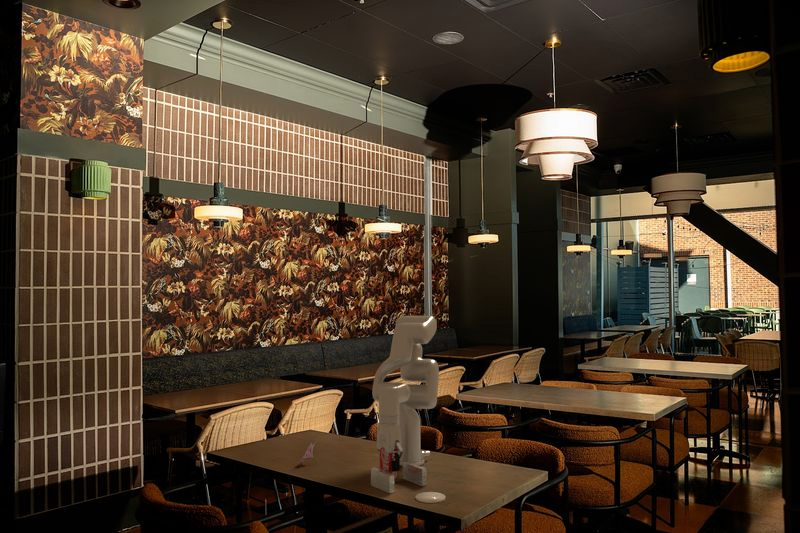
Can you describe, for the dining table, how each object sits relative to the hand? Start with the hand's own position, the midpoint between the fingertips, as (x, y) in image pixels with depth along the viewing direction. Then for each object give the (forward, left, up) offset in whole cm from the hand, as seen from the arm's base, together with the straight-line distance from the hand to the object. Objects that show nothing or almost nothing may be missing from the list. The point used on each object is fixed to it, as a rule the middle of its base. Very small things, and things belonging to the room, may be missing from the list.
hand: (389, 468), depth 234 cm
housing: (0, +6, -5) cm, 7 cm away
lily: (+13, -40, -5) cm, 43 cm away
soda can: (0, 0, -3) cm, 3 cm away
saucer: (0, +24, -5) cm, 25 cm away
